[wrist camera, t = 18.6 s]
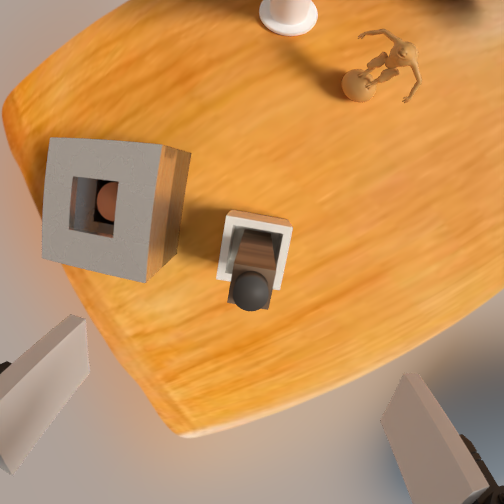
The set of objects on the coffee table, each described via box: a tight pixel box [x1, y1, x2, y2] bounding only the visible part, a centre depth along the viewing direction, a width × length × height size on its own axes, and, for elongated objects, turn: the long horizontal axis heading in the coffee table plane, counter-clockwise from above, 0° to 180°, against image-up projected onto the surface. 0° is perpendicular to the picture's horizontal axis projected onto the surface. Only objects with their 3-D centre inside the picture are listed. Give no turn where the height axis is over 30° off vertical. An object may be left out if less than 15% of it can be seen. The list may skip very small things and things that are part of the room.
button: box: [97, 182, 119, 221], centre depth 33 cm, size 4×4×6 cm
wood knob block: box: [227, 229, 276, 311], centre depth 29 cm, size 3×3×16 cm
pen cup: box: [216, 210, 293, 290], centre depth 34 cm, size 7×7×6 cm
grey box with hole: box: [42, 138, 191, 283], centre depth 31 cm, size 12×12×11 cm
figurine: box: [342, 29, 422, 103], centre depth 26 cm, size 8×6×12 cm
